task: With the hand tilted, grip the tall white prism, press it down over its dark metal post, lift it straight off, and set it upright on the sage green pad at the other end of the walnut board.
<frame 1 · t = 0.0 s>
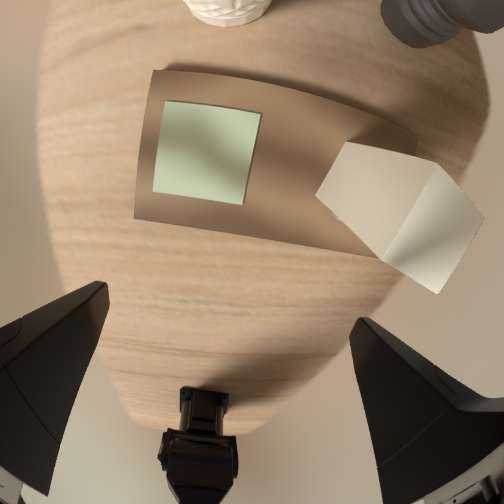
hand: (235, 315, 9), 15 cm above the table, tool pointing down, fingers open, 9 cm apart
candle holder: (406, 21, 15), on the table
tall white prism: (355, 184, 21), point 1 cm above the table, touching board
board: (280, 163, 21), on the table
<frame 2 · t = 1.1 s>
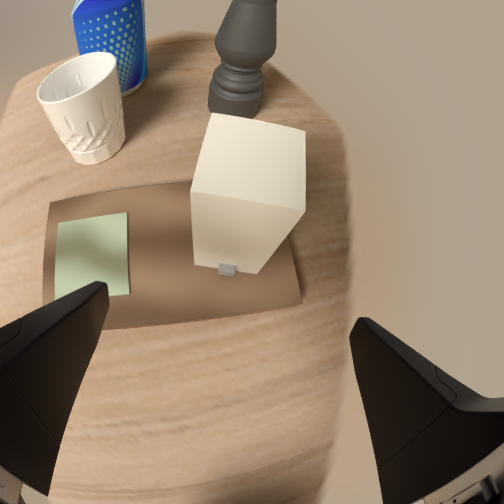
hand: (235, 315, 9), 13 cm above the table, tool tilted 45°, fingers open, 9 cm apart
candle holder: (233, 106, 30), on the table
tall white prism: (229, 240, 23), point 1 cm above the table, touching board
board: (159, 254, 23), on the table
beer can: (119, 85, 29), on the table
white cup: (98, 143, 25), on the table
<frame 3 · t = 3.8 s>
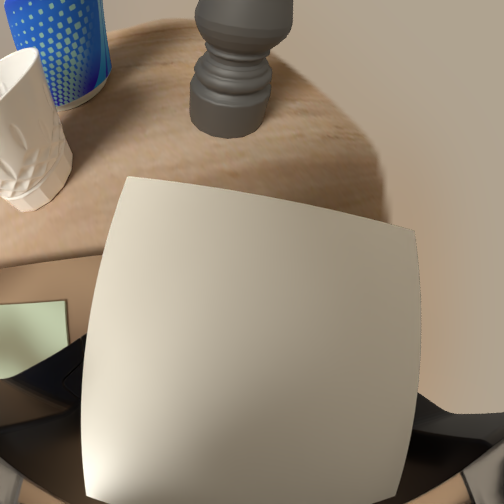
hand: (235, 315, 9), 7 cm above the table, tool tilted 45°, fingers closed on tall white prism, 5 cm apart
candle holder: (226, 114, 21), on the table
tall white prism: (220, 351, 13), point 2 cm above the table, touching board, gripper
board: (118, 360, 14), on the table
beer can: (76, 90, 20), on the table
white cup: (40, 176, 16), on the table
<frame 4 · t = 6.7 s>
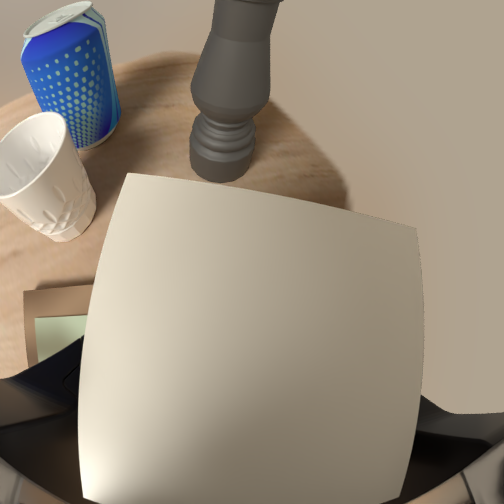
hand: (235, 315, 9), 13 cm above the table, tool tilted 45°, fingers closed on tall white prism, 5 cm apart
candle holder: (219, 159, 27), on the table
tall white prism: (220, 353, 13), point 8 cm above the table, touching gripper
board: (141, 355, 20), on the table
beer can: (90, 130, 26), on the table
white cup: (68, 212, 22), on the table
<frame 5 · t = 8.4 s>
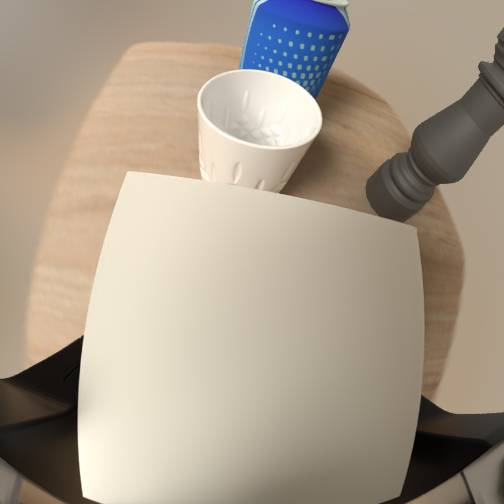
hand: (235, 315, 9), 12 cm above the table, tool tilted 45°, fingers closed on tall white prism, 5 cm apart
candle holder: (387, 199, 28), on the table
tall white prism: (220, 353, 13), point 7 cm above the table, touching gripper
beer can: (268, 113, 28), on the table
white cup: (239, 186, 25), on the table
when the fingers open (8 cm above the table, at t = 9.6 s): tall white prism stays where it is, resting on board.
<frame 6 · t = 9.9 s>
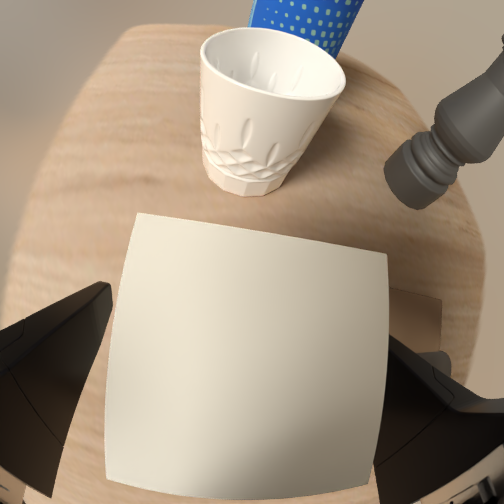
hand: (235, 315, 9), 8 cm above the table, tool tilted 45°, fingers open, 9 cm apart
candle holder: (406, 183, 24), on the table
tall white prism: (219, 353, 14), point 2 cm above the table, touching board
board: (309, 365, 17), on the table
beer can: (275, 90, 25), on the table
white cup: (245, 163, 21), on the table
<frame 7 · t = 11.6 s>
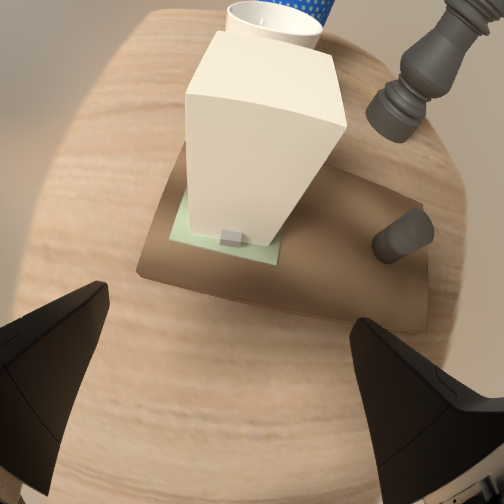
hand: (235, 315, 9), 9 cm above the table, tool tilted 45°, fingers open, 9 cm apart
candle holder: (386, 124, 28), on the table
tall white prism: (234, 205, 18), point 2 cm above the table, touching board
board: (309, 235, 21), on the table
beer can: (276, 56, 29), on the table
white cup: (253, 98, 25), on the table
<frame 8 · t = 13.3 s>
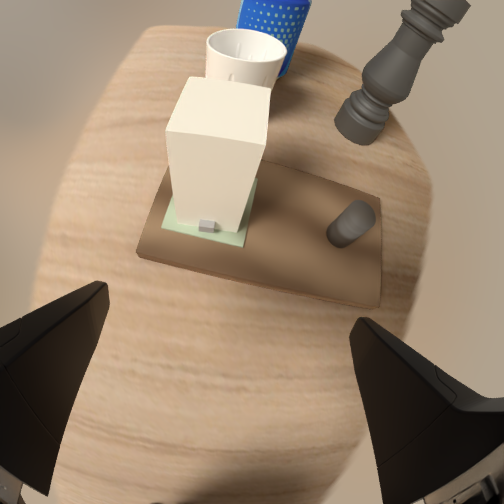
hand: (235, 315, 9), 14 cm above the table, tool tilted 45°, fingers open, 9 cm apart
candle holder: (353, 129, 33), on the table
tall white prism: (211, 202, 23), point 2 cm above the table, touching board
board: (273, 225, 26), on the table
beer can: (257, 71, 34), on the table
white cup: (233, 112, 30), on the table
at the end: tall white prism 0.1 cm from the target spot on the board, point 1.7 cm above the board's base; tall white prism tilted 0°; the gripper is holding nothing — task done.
